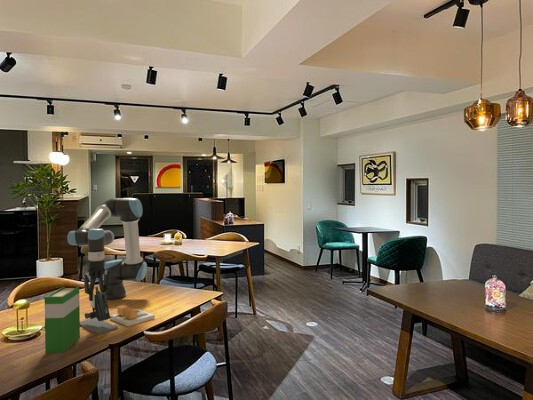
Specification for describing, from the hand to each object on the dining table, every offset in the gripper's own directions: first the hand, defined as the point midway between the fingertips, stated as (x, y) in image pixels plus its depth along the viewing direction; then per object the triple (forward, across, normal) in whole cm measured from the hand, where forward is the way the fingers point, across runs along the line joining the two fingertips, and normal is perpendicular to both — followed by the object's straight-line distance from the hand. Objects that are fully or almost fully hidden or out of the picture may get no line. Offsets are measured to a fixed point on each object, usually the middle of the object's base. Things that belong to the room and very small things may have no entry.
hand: (96, 305), depth 199 cm
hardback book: (+11, -21, -11) cm, 26 cm away
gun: (+7, 0, 0) cm, 7 cm away
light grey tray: (+10, +18, -3) cm, 21 cm away
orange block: (+8, +15, -7) cm, 18 cm away
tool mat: (+11, 0, 0) cm, 11 cm away
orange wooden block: (+8, +15, +1) cm, 17 cm away
